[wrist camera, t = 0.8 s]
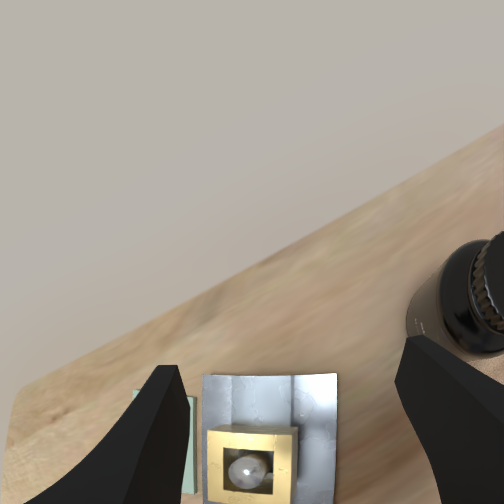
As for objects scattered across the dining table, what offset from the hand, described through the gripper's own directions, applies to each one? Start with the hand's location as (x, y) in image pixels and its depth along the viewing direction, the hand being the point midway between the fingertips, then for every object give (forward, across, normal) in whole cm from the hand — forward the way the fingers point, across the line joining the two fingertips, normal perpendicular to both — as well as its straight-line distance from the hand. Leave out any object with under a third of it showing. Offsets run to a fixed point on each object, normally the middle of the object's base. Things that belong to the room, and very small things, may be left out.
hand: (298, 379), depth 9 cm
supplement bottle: (+10, -14, +7) cm, 18 cm away
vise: (+6, +1, +15) cm, 16 cm away
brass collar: (+4, +2, +12) cm, 13 cm away
